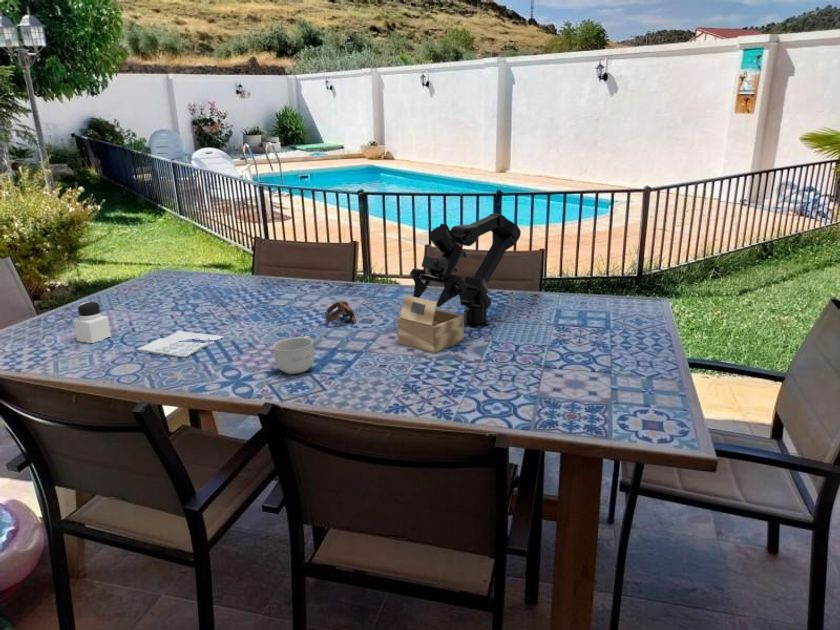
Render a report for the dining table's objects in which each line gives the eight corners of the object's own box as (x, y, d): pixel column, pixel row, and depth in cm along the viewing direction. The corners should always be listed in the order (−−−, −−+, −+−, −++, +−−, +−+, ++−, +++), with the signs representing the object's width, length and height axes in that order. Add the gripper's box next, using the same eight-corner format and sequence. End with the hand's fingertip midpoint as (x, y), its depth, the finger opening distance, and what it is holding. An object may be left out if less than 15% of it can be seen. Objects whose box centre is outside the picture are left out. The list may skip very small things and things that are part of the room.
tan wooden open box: (428, 331, 203) (427, 307, 201) (465, 340, 194) (465, 315, 192) (397, 343, 193) (396, 318, 191) (434, 353, 184) (434, 327, 181)
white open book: (134, 354, 190) (133, 347, 189) (180, 333, 208) (179, 327, 207) (186, 361, 184) (185, 354, 183) (229, 339, 202) (228, 332, 201)
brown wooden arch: (356, 328, 210) (343, 309, 206) (332, 339, 212) (319, 320, 209) (361, 309, 220) (348, 291, 216) (338, 319, 222) (325, 302, 219)
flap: (405, 295, 190) (404, 294, 190) (437, 301, 182) (436, 301, 182) (400, 317, 190) (399, 317, 190) (432, 325, 182) (431, 325, 182)
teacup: (296, 380, 167) (294, 352, 164) (266, 372, 172) (264, 345, 170) (330, 363, 178) (328, 336, 176) (301, 356, 183) (299, 330, 181)
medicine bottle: (111, 337, 204) (105, 301, 200) (92, 344, 197) (85, 307, 194) (96, 334, 206) (90, 299, 203) (76, 341, 200) (70, 305, 197)
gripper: (412, 242, 193) (388, 284, 188) (461, 249, 181) (437, 294, 176) (429, 263, 201) (407, 304, 196) (477, 271, 189) (454, 314, 184)
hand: (425, 303), depth 188 cm, fingers open, 9 cm apart
